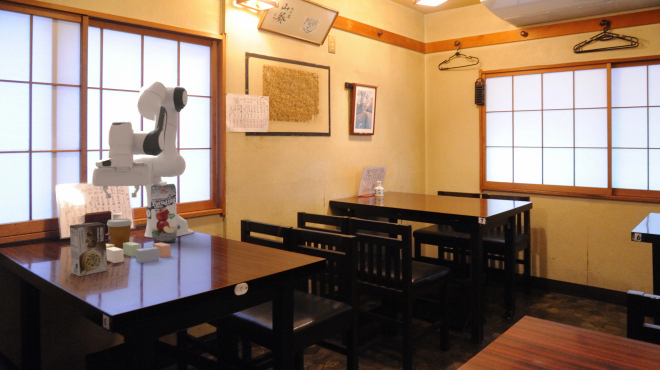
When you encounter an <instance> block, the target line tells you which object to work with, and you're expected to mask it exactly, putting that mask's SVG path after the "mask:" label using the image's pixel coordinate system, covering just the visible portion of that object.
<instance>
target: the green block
mask: <svg viewBox="0 0 660 370" xmlns="http://www.w3.org/2000/svg"><path fill="white" fill-rule="evenodd" d="M136 249H141V243H137V242H133V241H129V242H127V243H123V252H124V255H125V256H129V257H131V258H132V257H136Z"/></svg>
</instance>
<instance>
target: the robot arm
mask: <svg viewBox="0 0 660 370" xmlns="http://www.w3.org/2000/svg"><path fill="white" fill-rule="evenodd" d="M188 96H189V95H188V92H187V90H186V88H185V87H182V86H180V85H172V84H171V85H170V84H165V83H164V82H162V81H160V80H159V79H158V80H157V79H151V80H149V81H148V82H147V83H145V85H143V86H142V87H140V90H139V93H138V96H137V98H136V102H135V107H136V110H137V112H138V113H139V115H141V117H143V118H145V119H146V120H149V121H153V126H152V129H151V130H148V131H147V130H146V131H142V130H141V131H140V130H139V131H136V130H134V129H133V126H132V123H131V121H126V120H121V121H120V120H119V121H118V120H117V121H112V122H111V123H110V124H109V129H108V146H109V152H108V158H103V159H101V160H97V161H95V168H94V169H93V173H92V180H91V182H92V183H91V184H92V185H93V187H102V191H103V192H104V193H105V199H111V198H112V194H111V193H109V192H108V189H109V188H108V187H134V189H135V190H134V192H131V198H137V194H138V193H139V191H140V187H145V192H146V203H147V206H146V227H145V232H144V237H145V238H151V239H153V238H152V226H151V187H152V185H153V184H160V182H162V181H163V180H162V178H172V177H173V178H174V177H179V176H182V175H183V174H184V172H185V170H186V166H187V165H186V161H185V158H184V157H183V156H182V155H181V154H180V153H179V152H178V149H177V145H176V143H177V142H176V140H177V132H178V127H179V113H181V111H182V110H183V109H184V108H185V107H186V106H187V104H188V99H189V98H188ZM176 207H177V212H178V211H179V210H180V209H181V208H180V206H177V205H176ZM191 234H194V230H192V229H190V228H189V225H188V221H187V220H186V219H185V218H183V217H182V216H180V215H179V214H178V213H177V235H176V237H180V236H186V235H191Z"/></svg>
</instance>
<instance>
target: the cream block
mask: <svg viewBox="0 0 660 370" xmlns="http://www.w3.org/2000/svg"><path fill="white" fill-rule="evenodd" d="M106 255H107V262H110V263H113V264H116V263H122V262H125V261H124V259H125V257H124V252H123V249H120V248H117V247H111V248H106Z"/></svg>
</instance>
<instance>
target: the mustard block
mask: <svg viewBox="0 0 660 370" xmlns="http://www.w3.org/2000/svg"><path fill="white" fill-rule="evenodd" d="M111 247H114V244H111V243H106V248H111Z"/></svg>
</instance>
